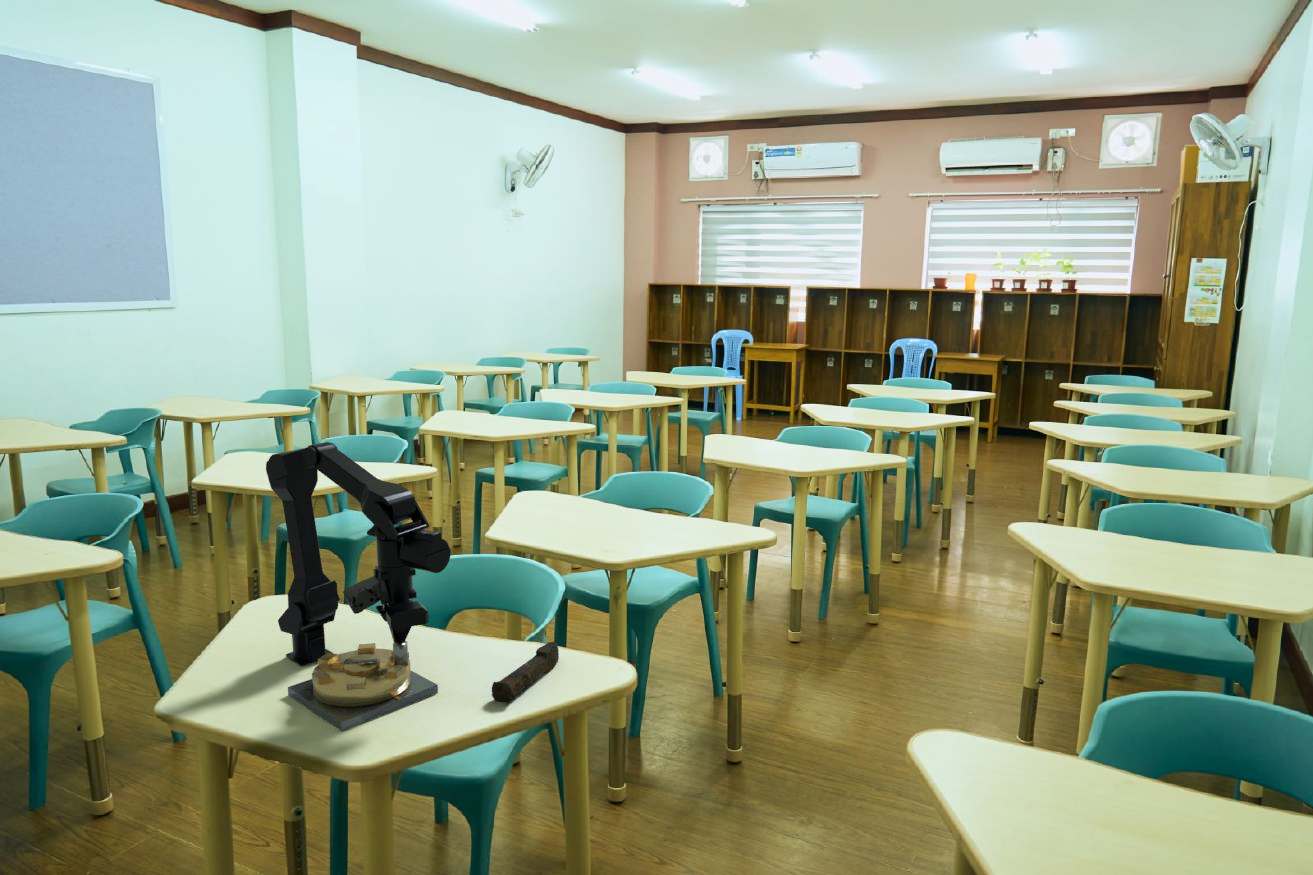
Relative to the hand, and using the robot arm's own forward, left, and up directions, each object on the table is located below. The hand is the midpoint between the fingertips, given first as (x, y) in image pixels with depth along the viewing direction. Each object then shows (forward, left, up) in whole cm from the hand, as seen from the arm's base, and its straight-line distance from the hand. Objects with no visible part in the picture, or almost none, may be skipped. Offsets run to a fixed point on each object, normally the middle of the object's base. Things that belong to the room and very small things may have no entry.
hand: (398, 647), depth 155 cm
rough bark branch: (+15, +17, -8) cm, 24 cm away
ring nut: (-2, -6, -5) cm, 8 cm away
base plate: (-2, -6, -7) cm, 10 cm away
